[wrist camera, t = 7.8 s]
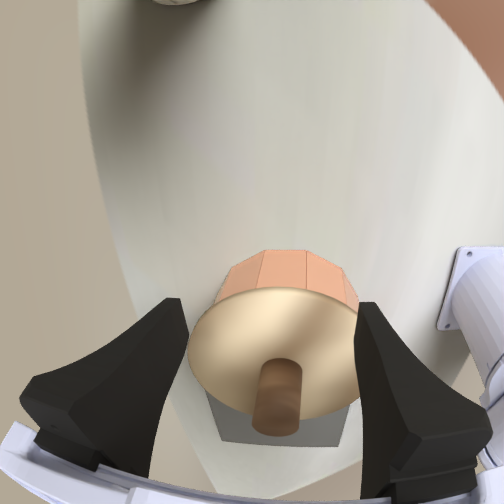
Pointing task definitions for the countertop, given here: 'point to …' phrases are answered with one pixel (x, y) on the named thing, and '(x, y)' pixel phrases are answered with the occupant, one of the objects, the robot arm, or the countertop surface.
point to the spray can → (174, 2)
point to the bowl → (289, 275)
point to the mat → (308, 435)
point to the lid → (277, 356)
